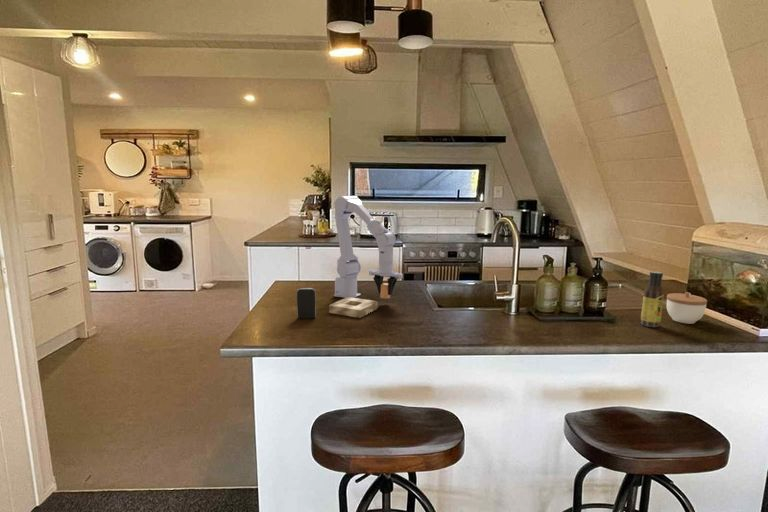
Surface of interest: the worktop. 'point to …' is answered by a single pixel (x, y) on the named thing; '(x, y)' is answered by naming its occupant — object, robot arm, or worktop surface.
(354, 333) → the worktop surface
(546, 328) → the worktop surface
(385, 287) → the peg
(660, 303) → the sauce bottle
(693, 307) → the lidded bowl
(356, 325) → the worktop surface
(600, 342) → the worktop surface
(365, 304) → the socket block
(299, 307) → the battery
